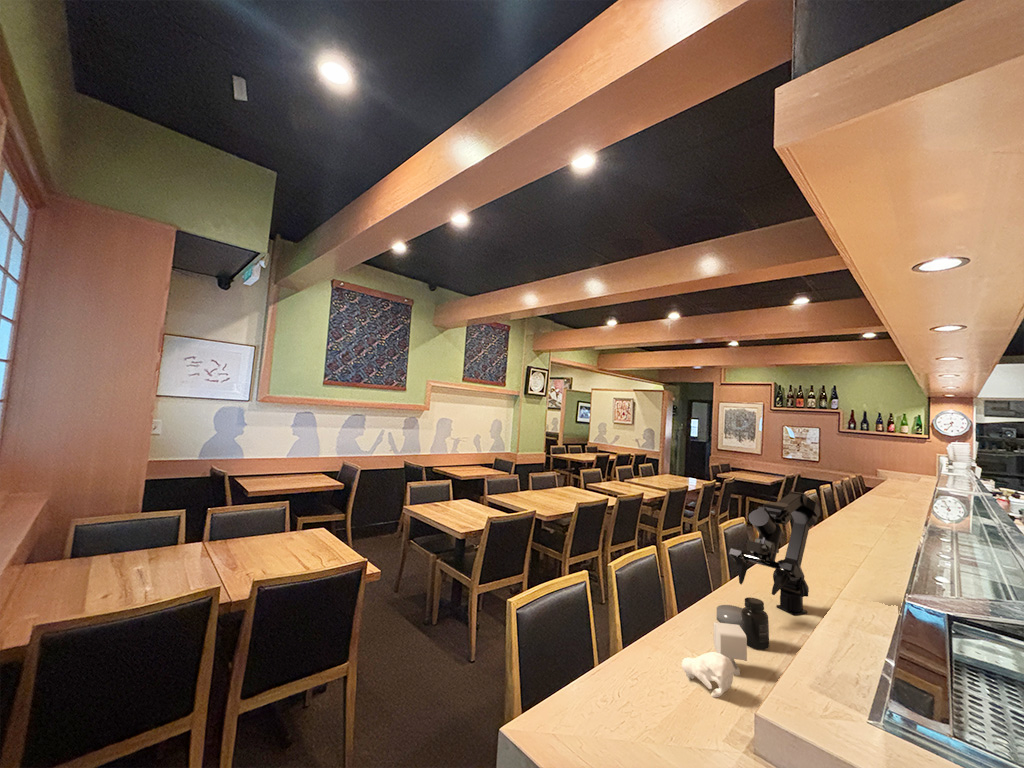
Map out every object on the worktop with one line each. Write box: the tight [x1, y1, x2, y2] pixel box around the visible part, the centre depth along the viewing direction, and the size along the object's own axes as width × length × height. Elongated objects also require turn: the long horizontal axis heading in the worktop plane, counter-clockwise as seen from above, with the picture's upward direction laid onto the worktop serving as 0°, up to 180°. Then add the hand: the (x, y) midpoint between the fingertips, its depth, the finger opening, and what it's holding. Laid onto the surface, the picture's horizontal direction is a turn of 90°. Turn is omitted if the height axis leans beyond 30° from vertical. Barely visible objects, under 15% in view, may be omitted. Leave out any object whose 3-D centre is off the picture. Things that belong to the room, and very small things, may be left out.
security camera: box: [713, 621, 748, 677], centre depth 108 cm, size 6×7×10 cm
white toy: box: [681, 651, 735, 699], centre depth 101 cm, size 6×8×12 cm
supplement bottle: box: [741, 596, 770, 651], centre depth 120 cm, size 7×7×12 cm
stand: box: [716, 604, 744, 628], centre depth 133 cm, size 10×10×3 cm
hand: (756, 589), depth 127 cm, fingers open, 9 cm apart
